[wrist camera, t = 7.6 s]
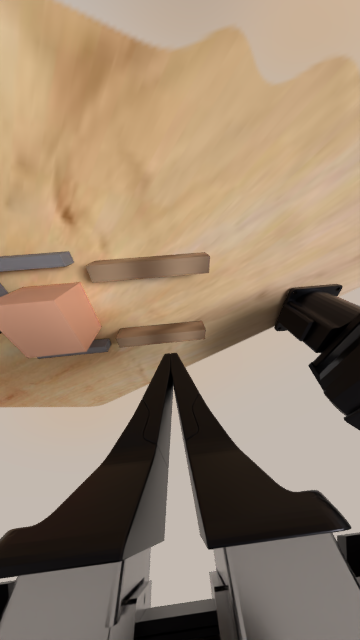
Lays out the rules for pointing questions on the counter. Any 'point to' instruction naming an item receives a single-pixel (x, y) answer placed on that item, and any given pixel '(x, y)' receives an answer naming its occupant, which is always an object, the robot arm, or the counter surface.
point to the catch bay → (47, 262)
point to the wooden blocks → (152, 269)
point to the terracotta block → (49, 319)
